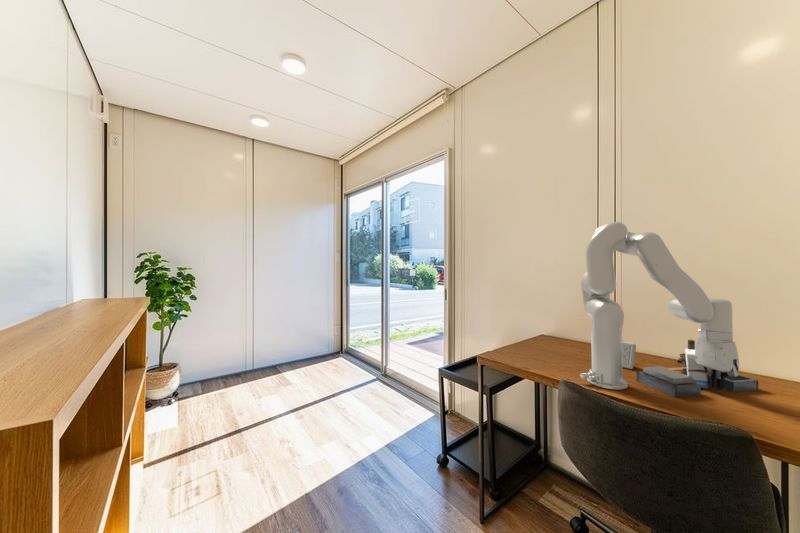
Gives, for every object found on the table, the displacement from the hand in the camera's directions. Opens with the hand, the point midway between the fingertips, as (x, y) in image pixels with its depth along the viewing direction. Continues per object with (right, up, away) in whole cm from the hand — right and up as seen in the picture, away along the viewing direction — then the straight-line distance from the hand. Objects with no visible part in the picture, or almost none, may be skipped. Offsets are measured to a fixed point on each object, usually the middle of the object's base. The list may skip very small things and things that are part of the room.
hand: (717, 388), depth 102 cm
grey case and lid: (-1, -2, +7) cm, 7 cm away
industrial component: (+15, -1, +23) cm, 27 cm away
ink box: (+1, -2, +7) cm, 8 cm away
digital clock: (-14, -2, +30) cm, 34 cm away
